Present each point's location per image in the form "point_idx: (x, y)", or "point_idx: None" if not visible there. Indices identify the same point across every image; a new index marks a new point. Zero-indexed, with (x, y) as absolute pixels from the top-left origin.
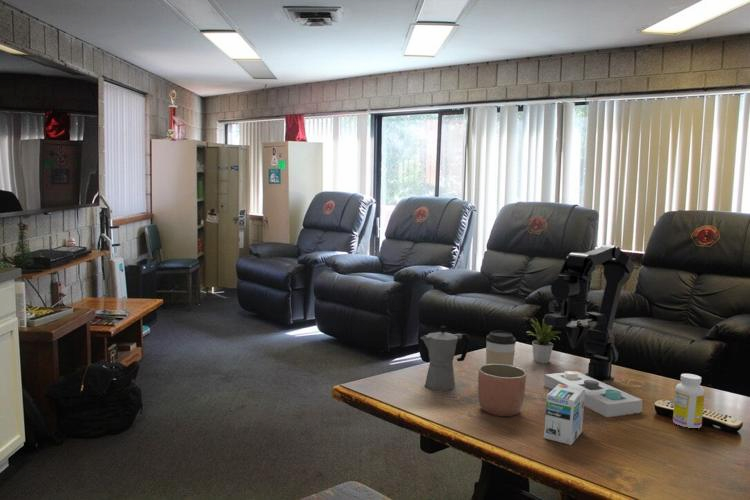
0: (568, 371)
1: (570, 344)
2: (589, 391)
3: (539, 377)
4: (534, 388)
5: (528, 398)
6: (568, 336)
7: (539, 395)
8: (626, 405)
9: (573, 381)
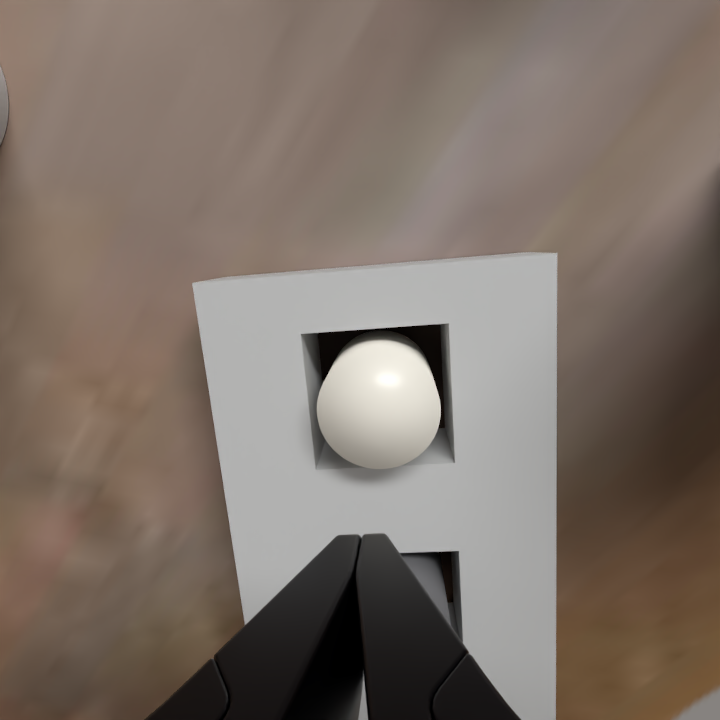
0: (383, 361)
1: (313, 565)
2: None
3: (298, 69)
4: (127, 315)
5: (6, 474)
6: (209, 682)
7: (98, 443)
8: None
9: (332, 492)
